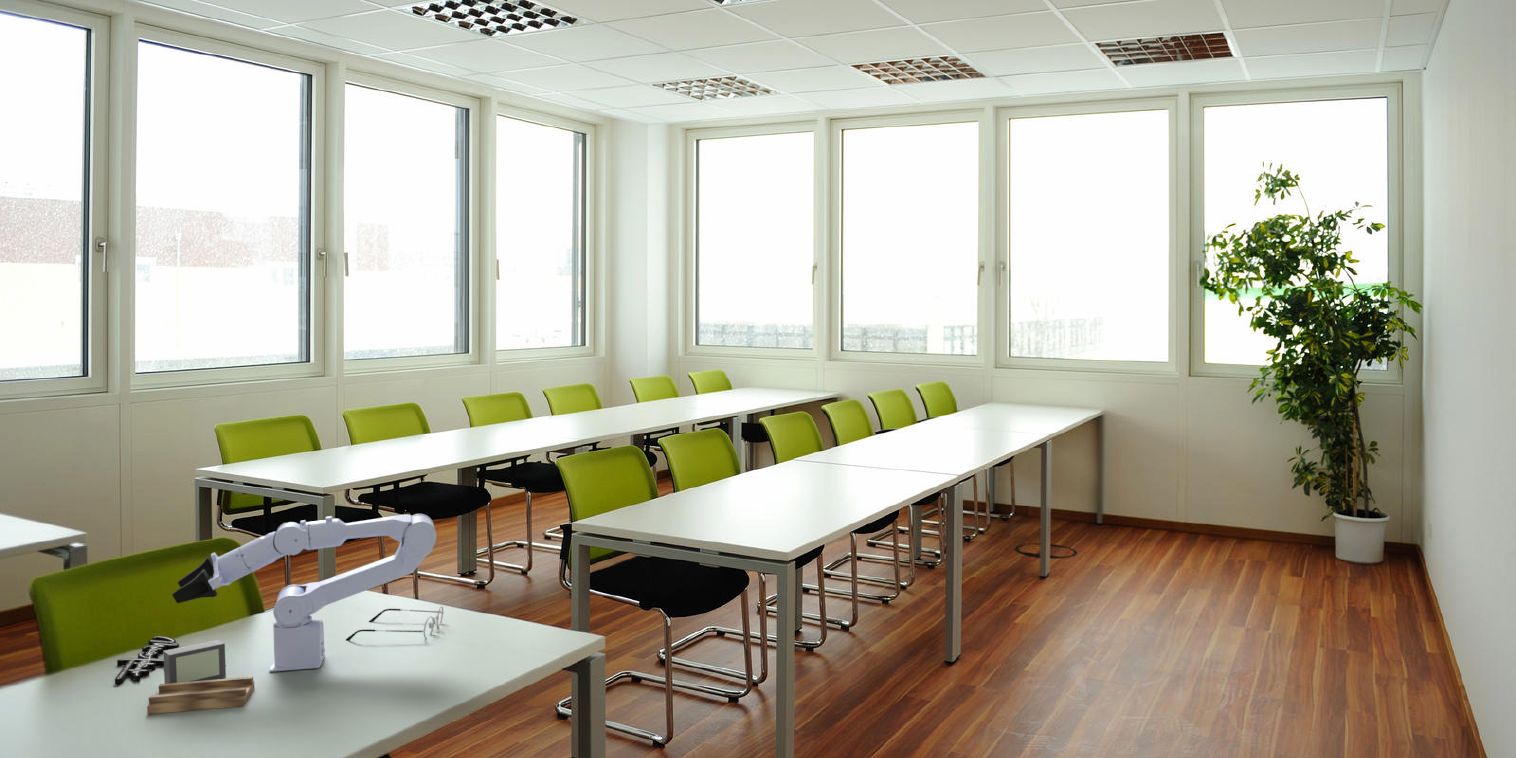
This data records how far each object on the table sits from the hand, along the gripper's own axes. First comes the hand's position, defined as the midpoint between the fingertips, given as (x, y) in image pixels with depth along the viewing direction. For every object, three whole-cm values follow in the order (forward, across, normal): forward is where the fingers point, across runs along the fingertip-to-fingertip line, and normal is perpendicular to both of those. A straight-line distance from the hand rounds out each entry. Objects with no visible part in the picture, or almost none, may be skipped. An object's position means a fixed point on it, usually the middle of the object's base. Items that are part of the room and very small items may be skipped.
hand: (177, 592), depth 205 cm
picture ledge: (+2, +17, +17) cm, 24 cm away
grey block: (+4, +5, +17) cm, 18 cm away
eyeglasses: (-30, -14, +34) cm, 48 cm away
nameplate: (+15, -12, +14) cm, 23 cm away
